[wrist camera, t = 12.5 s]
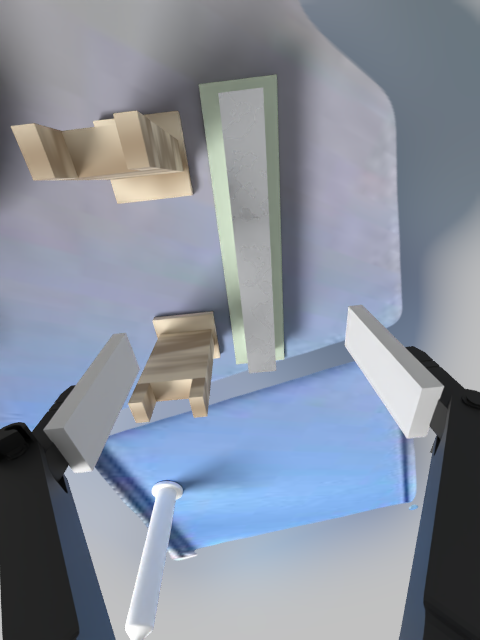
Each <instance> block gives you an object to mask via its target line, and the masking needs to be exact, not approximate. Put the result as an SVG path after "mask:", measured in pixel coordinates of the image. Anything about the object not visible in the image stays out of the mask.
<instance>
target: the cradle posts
mask: <svg viewBox="0 0 480 640" xmlns="http://www.w3.org/2000/svg"><path fill="white" fill-rule="evenodd" d="M113 116H114V119H106V120H98V121H93V123H94V126H95V127H91V128H83V129H74V130H66V131H60V130H56V129H52V128H49V127H45V126H42V125H38V124H35V123H33V124H25V125H17V126H11V128H12V131H13V133H14V135H15V138H16V140H17V143H18V145H19V147H20V150H21V152H22V154H23V157H24V159H25V161H26V164H27V166H28V169H29V171H30V173H31V176H32V178H33V180H111V183H112V187H113V190H114V193H115V197H116V200H117V203H118V204H120V203H129V202H138V201H146V200H155V199H164V198H173V197H181V196H190V195H193V191H192V185H191V179H190V173H189V167H188V161H187V155H186V149H185V143H184V138H183V132H182V126H181V120H180V114H179V112H178V111H171V112H163V113H155V114H147V115H142V114H141V113H139V112H138V111H130V112H122V113H114V114H113ZM153 324H154V327H155V331H156V334H157V337H158V340H157V342H156V344H155V346H154V348H153V351H152V353H151V355H150V357H149V359H148V361H147V364H146V366H145V368H144V370H143V372H142V374H141V377H140V379H139V381H138V383H137V385H136V387H135V390H134V392H133V394H132V396H131V398H130V400H129V403H128V405H129V407H130V409H131V412H132V414H133V417H134V419H135V421H136V423H142V422H149V421H150V419H151V416H152V413H153V410H154V407H155V404H156V402H157V401H167V400H178V399H189V401H190V405H191V408H192V412H193V416H194V418H195V417H206V416H207V414H208V405H209V395H210V385H211V376H212V366H213V359H214V358H220V350H219V344H218V338H217V332H216V326H215V321H214V315H213V311H211V312H202V313H192V314H182V315H173V316H163V317H154V319H153Z"/></svg>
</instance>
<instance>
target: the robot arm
mask: <svg viewBox="0 0 480 640" xmlns="http://www.w3.org/2000/svg"><path fill="white" fill-rule="evenodd" d="M345 347H346V348H347V350H348V351H349V353H350V354H351V356H352V357H353V358H354V360H355V361H356V363H357V364H358V366H359V367H360V369H361V370H362V372H363V373H364V375H365V376H366V378H367V379H368V381H369V382H370V384H371V385H372V387H373V388H374V390H375V391H376V393H377V394H378V396H379V397H380V399H381V400H382V402H383V403H384V405H385V406H386V408H387V409H388V411H389V412H390V414H391V415H392V417H393V418H394V420H395V421H396V423H397V424H398V426H399V427H400V429H401V430H402V431H403V433H404V434H405V436H406V437H407V439H408V438H418V437H426V436H427V433H428V430H429V428H430V427H431V428H432V429H433V431H434V432H435V433H436V435H437V436H436V438H435V441H434V443H433V446H432V449H431V451H430V452H431V453H432V459H431V464H430V470H429V475H428V481H427V486H426V493H425V498H424V504H423V509H422V515H421V520H420V526H419V532H418V537H417V542H416V548H415V554H414V559H413V565H412V571H411V576H410V582H409V587H408V593H407V599H406V604H405V610H404V616H403V621H402V627H401V632H400V637H399V640H480V392H477V391H474V390H469V389H464V388H463V387H462V386H461V385H460V384H459V383H458V382H457V381H455V380H454V379H453V378H452V377H451V376H450V375H449V374H448V373H447V372H446V371H445V370H443V368H441V367H439V365H438V364H437V363H436V362H435V361H433V359H431V358H430V357H429V356H428V355H427V354H426V353H425V352H423V351H421V350H419V349H418V348H416V347H413V346H411V347H404V346H403V345H402V344H401V343H400V342H399V341H398V340H397V339H396V338H395V337H394V336H393V335H392V334H391V333H390V332H389V331H388V330H387V329H386V328H385V327H384V326H383V325H382V324H381V323H380V322H379V321H378V320H377V319H376V318H375V317H374V316H373V315H372V314H371V313H370V312H369V311H368V310H367V309H366V308H365V307H364V306H363V305H356V306H349V307H348V317H347V328H346V338H345ZM139 370H140V368H139V365H138V363H137V360H136V358H135V355H134V353H133V350H132V347H131V345H130V342H129V340H128V337H127V335H126V333H120V334H113V335H112V337H111V338H110V339H109V341H108V342H107V343H106V345H105V346H104V348H103V349H102V350H101V352H100V353H99V354H98V356H97V357H96V358H95V360H94V361H93V363H92V364H91V365H90V367H89V368H88V369H87V371H86V372H85V374H84V375H83V376H82V378H81V379H80V380H79V382H78V383H77V384H76V385H74V386H70V387H69V388H68V389H67V390H65V391H64V392H63V393H62V394H61V395H60V396H59V397H58V399H57V400H56V401H55V404H53V405H52V407H51V408H50V409H49V412H47V413H46V414H45V416H44V417H43V418H42V420H41V421H40V422H39V423H38V425H37V426H36V427H35V429H34V430H33V431H32V432H31V431H30V430H29V428H28V427H27V426H26V424H25V423H21V422H18V423H13V424H10V425H8V426H5V427H3V428H2V429H0V585H1V609H2V635H3V640H115V636H114V633H113V629H112V626H111V623H110V619H109V616H108V613H107V609H106V606H105V603H104V599H103V596H102V593H101V590H100V586H99V583H98V580H97V576H96V573H95V570H94V566H93V563H92V560H91V556H90V553H89V550H88V547H87V543H86V540H85V536H84V533H83V530H82V527H81V523H80V520H79V516H78V513H77V510H76V507H75V503H74V500H73V497H72V493H71V491H70V487H69V483H68V480H67V478H66V477H65V475H64V472H65V470H66V469H67V467H68V465H69V466H70V467H71V469H72V470H73V471H74V473H81V472H91V471H93V469H94V467H95V465H96V463H97V460H98V458H99V456H100V454H101V452H102V450H103V447H104V445H105V443H106V441H107V439H108V437H109V435H110V432H111V430H112V428H113V426H114V423H115V422H116V419H117V417H118V415H119V413H120V411H121V409H122V407H123V404H124V402H125V400H126V398H127V396H128V394H129V391H130V389H131V387H132V385H133V383H134V381H135V378H136V376H137V374H138V372H139Z"/></svg>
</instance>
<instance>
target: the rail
mask: <svg viewBox="0 0 480 640" xmlns="http://www.w3.org/2000/svg"><path fill="white" fill-rule="evenodd" d="M218 96H219V105H220V114H221V123H222V132H223V141H224V151H225V160H226V169H227V178H228V187H229V196H230V205H231V214H232V223H233V232H234V242H235V251H236V260H237V269H238V278H239V287H240V296H241V305H242V314H243V324H244V333H245V342H246V351H247V360H248V369H249V373H258V372H268V371H276V357H275V335H274V313H273V291H272V269H271V248H270V226H269V204H268V182H267V160H266V138H265V117H264V95H263V88H255V89H247V90H239V91H231V92H223V93H218Z"/></svg>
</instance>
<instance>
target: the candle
mask: <svg viewBox="0 0 480 640" xmlns="http://www.w3.org/2000/svg"><path fill="white" fill-rule="evenodd" d="M152 494H153V496H154V497H156V500H155V504H154V508H153V512H152V516H151V521H150V525H149V529H148V533H147V538H146V542H145V546H144V550H143V554H142V559H141V563H140V567H139V571H138V575H137V579H136V584H135V588H134V592H133V597H132V601H131V605H130V609H129V613H128V617H127V621H126V626H125V630H126V632H127V634H128V635H129V637H130V639H131V640H143V639H144V638H145V637H146V636H147V635H148V634H150V633H151V632H152V630H153V628H154V622H155V616H156V611H157V605H158V599H159V593H160V588H161V582H162V576H163V571H164V565H165V559H166V553H167V548H168V542H169V536H170V531H171V525H172V519H173V513H174V508H175V502H176V500H177V499H179V498H180V497H181V496H182V494H183V488H182V487H181V486H180V485H179V484H178V483H175V482H172V481H161V482H158V483H156V484H155V485H154V486H153V488H152Z"/></svg>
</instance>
